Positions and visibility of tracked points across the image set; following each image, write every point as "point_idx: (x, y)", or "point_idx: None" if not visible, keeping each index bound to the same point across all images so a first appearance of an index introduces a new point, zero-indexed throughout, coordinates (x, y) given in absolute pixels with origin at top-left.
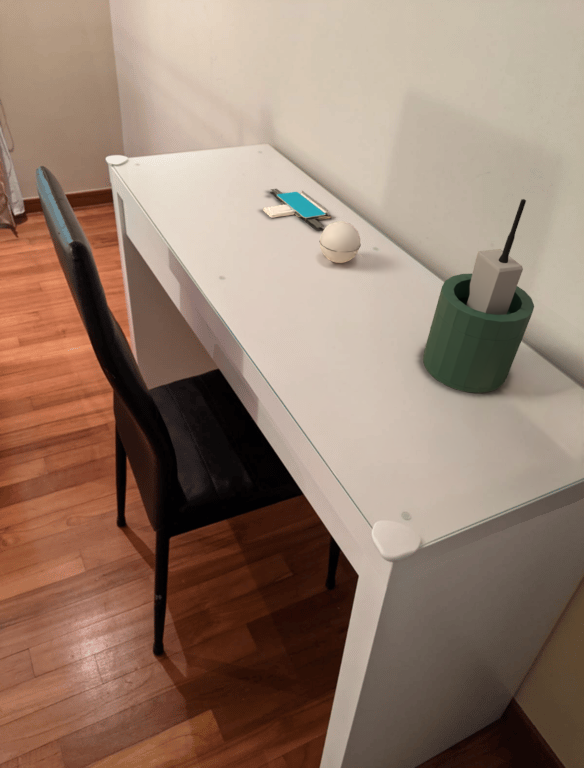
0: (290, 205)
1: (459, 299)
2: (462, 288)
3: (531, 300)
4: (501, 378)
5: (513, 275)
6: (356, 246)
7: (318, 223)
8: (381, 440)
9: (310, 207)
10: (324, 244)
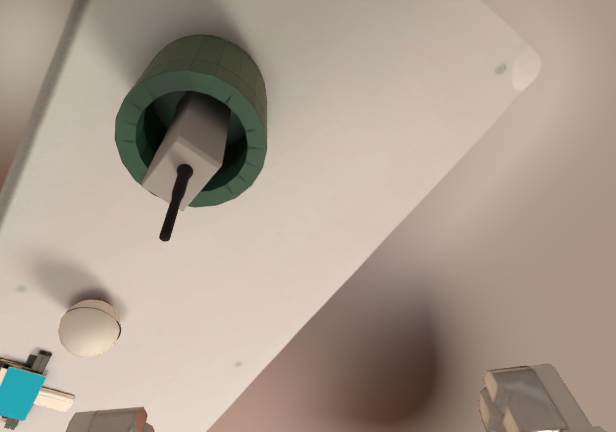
0: (33, 399)
1: None
2: None
3: (148, 80)
4: (226, 44)
5: (195, 140)
6: (87, 311)
7: (38, 361)
8: (404, 131)
9: (12, 385)
10: (117, 337)
